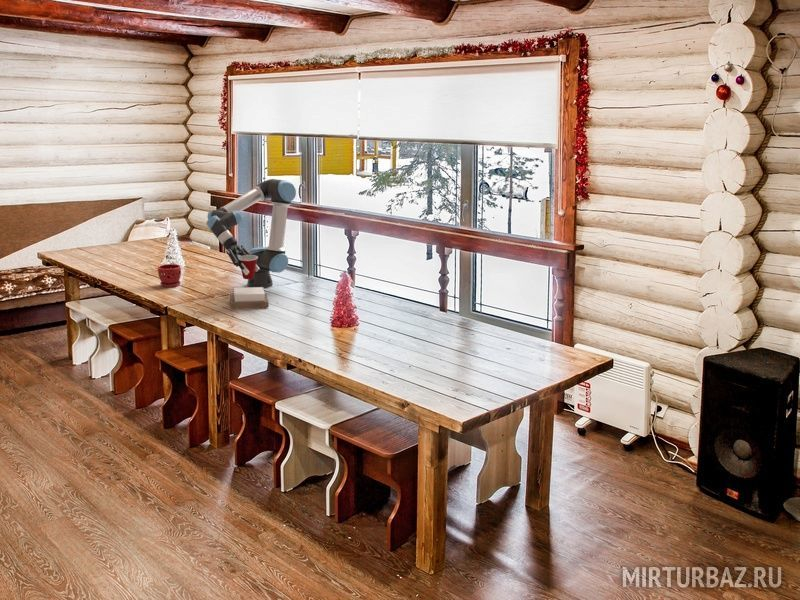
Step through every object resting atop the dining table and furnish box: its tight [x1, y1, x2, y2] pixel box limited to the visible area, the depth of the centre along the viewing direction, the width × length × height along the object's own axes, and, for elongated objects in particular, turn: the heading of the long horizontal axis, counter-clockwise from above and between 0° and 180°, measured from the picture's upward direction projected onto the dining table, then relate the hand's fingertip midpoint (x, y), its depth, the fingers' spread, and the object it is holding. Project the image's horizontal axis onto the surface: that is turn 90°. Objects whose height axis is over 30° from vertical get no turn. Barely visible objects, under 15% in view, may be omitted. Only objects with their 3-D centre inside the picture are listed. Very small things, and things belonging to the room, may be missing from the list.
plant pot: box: [157, 263, 182, 288], centre depth 479 cm, size 13×13×12 cm
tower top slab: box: [233, 286, 265, 302], centre depth 443 cm, size 16×16×4 cm
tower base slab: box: [229, 292, 269, 310], centre depth 444 cm, size 20×20×4 cm
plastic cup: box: [238, 255, 258, 280], centre depth 439 cm, size 11×11×12 cm
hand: (252, 271), depth 438 cm, fingers closed on plastic cup, 9 cm apart
